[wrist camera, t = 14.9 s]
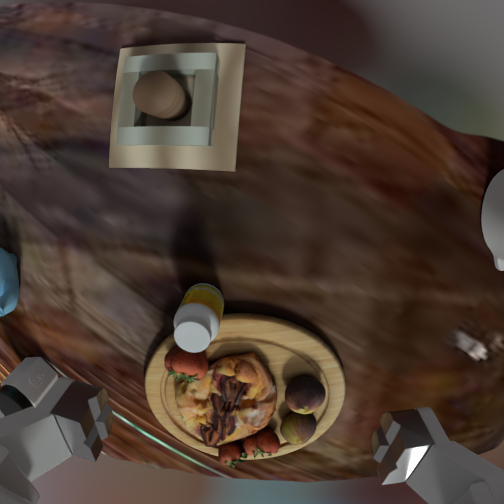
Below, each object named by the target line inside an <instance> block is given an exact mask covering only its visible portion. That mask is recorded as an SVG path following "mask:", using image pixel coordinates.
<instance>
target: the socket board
mask: <svg viewBox="0 0 504 504" xmlns="http://www.w3.org/2000/svg"><path fill="white" fill-rule="evenodd" d="M245 50H246V44H233V43H184V44H164V45H150V46H140V47H130V48H122V49H121V50H120V56H119V63H118V70H117V77H116V85H115V93H114V102H113V113H112V124H111V138H110V157H109V168H175V169H200V170H219V171H235V168H236V155H237V142H238V129H239V117H240V105H241V93H242V82H243V71H244V60H245ZM152 71H162V72H165V73H167V74H169V75H170V76H171V77H172V78H173V79H174V80H175V81H177V82H178V83H179V84H180V85H181V86H182V87H183V88H184V89H186V90H187V91H188V92H189V94H190V96H191V99H192V105H191V108H190V111H189V112H188V114H187V115H186V116H185V117H183V118H182V119H180V120H177V121H167V120H165V119H162V118H159V117H156V116H153V115H150V114H147V113H144V112H142V111H140V110H139V109H138V108H137V107H136V106H135V104H134V101H133V96H132V95H133V89H134V86H135V84H136V82H137V81H138V80H139V79H140V78H141V77H142V76H143V75H144V74H146V73H148V72H152Z"/></svg>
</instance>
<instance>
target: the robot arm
mask: <svg viewBox="0 0 504 504" xmlns="http://www.w3.org/2000/svg"><path fill="white" fill-rule="evenodd" d="M481 221H482V231H483V235H484V238H485V241H486V243H487V245H488V247H489V249H490V250H491V252H492V253H493V256H494V262H495V266H496V268H497V269H498V270H501V271H504V169H503V170H501V171H500V172H499V173H497V174H496V175H495V177H494V178H493V179H492V181H491V182H490V184H489V186H488V188H487V191H486V193H485V197H484V201H483V206H482V216H481ZM108 399H109V398H108V394H107V391H106V390H105V389H103V388H99V387H96V386H92V385H89V384H86V383H82V382H79V381H75V380H72V379H69V378H66V377H61V378H58V380H57V381H56V382H55V383H54V385H53V386H52V387H51V388H50V390H49V391H48V392H47V393H46V395H45V396H44V397H43V399H42V400H41V401H40V402H39V404H38V405H37V406H36V408H35V407H32V406H31V407H29V408H26V409H24V410H21V411H18V412H16V413H13V414H11V415H8V416H5V417H3V418H0V504H37V501H38V500H39V498H40V495H39V493H38V491H37V490H36V489H35V488H34V486H33V485H32V484H31V481H32V480H34V479H36V478H37V477H39V476H40V475H42V474H44V473H46V472H47V471H49V470H50V469H51V468H53V467H55V466H56V465H58V464H60V463H61V462H63V461H64V460H66V459H67V458H69V457H70V456H72V455H76V456H78V457H81V458H85V459H88V460H91V461H94V462H96V461H97V459H98V457H99V454H100V453H101V451H102V448H103V444H102V441H101V440H103V439H105V438H106V437H108V436H109V434H110V432H111V429H112V424H113V413H112V409H111V408H110V407H109V406H108V405H107V404H106V402H107V401H108ZM380 422H381V425H382V426H381V427H379V428H378V429H377V430H375V432H374V435H373V437H372V442H371V450H372V455H373V458H374V459H375V460H377V461H378V462H379V465H378V467H377V471H378V475H379V478H380V481H381V484H382V485H385V484H392V483H399V482H405V481H407V482H406V483H407V484H408V485H409V486H410V487H411V488H412V489H413V490H415V491H416V492H417V493H418V494H419V495H420V496H421V497H422V498H423V499H424V500H425V501H427V502H428V503H429V504H504V470H502V469H501V468H499V467H497V466H495V465H494V464H492V463H490V462H488V461H487V460H485V459H483V458H482V457H480V456H478V455H476V454H475V453H473V452H471V451H470V450H468V449H466V448H465V447H463V446H461V445H460V444H458V443H456V442H455V441H449V439H448V437H447V436H446V434H445V432H444V430H443V428H442V427H441V425H440V423H439V421H438V420H437V418H436V416H435V414H434V413H433V411H432V409H431V408H429V407H425V408H418V409H410V410H401V411H391V412H385V413H384V414H383V416H382V418H381V420H380ZM71 454H72V455H71Z"/></svg>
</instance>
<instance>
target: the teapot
mask: <svg viewBox="0 0 504 504" xmlns="http://www.w3.org/2000/svg"><path fill="white" fill-rule="evenodd" d="M16 265H17V257H16V256H15V254H13V253H10V254H9V253H8V252H7V251H6V250H4V249H3V248H1V247H0V316H5V314H7V313H9V312H11V311H13V310H14V309H15V307H16V306H17V303H18V299H19V293H20V291H19V278H18V270H17V266H16Z"/></svg>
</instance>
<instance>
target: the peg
mask: <svg viewBox="0 0 504 504" xmlns="http://www.w3.org/2000/svg"><path fill="white" fill-rule="evenodd" d="M132 96H133V101H134V104H135V106H136V107H137V108H138V109H139V110H140V111H142V112H144V113H147V114H150V115H153V116H156V117H159V118H162V119H165V120H167V121H177V120H180V119H182V118H183V117H185V116H186V115H187V114H188V112H189V111H190V108H191V105H192V99H191V96H190V94H189V92H188V91H187V90H186V89H184V88H183V87H182V86H181V85H180V84H179V83H178V82H177V81H175V80H174V79H173V78H172V77H171V76H170V75H169V74H167V73H165V72H162V71H152V72H148V73H146V74H144V75H143V76H142V77H141V78H140V79H139V80H138V81H137V82H136V84H135V86H134V89H133V95H132Z"/></svg>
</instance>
